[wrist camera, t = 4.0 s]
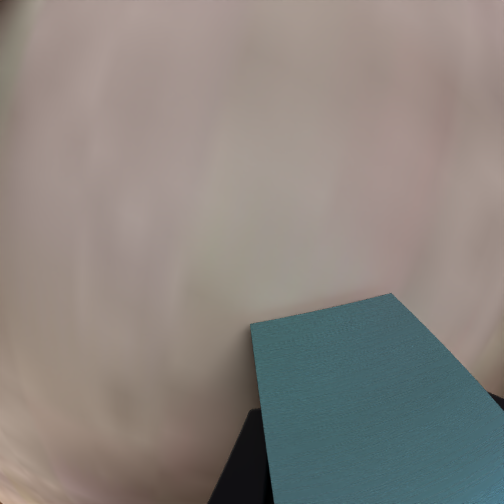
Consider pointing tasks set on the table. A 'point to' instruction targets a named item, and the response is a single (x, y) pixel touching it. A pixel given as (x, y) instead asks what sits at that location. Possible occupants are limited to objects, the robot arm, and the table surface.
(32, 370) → the table surface
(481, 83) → the table surface
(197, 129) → the table surface
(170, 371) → the table surface
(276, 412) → the blade tool
